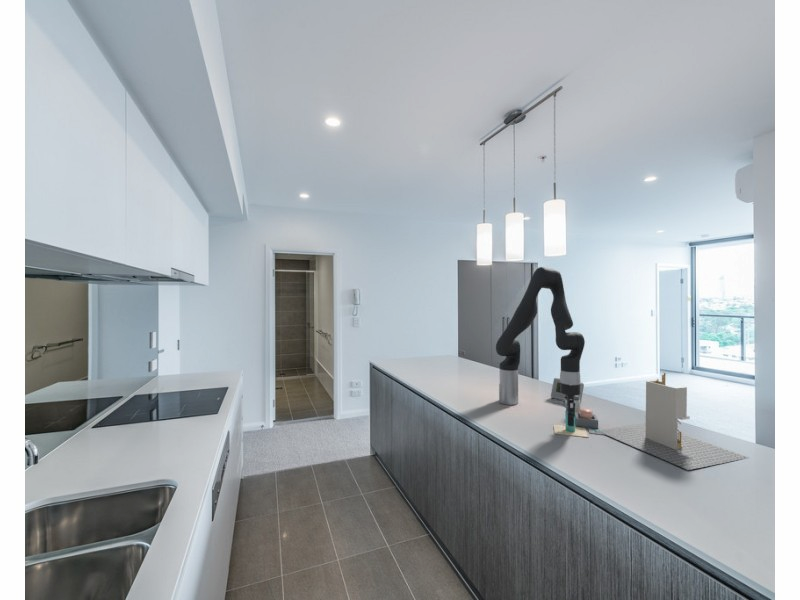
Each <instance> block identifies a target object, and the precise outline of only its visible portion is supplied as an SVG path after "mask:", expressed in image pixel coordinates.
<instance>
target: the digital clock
mask: <svg viewBox="0 0 800 600" xmlns="http://www.w3.org/2000/svg"><path fill="white" fill-rule="evenodd" d="M584 387H585V385H584V383H583V382H581V381H580V395H578V396H579V399H580V405H581V404H582V398H583V392H584ZM565 395H566V394H562V393H561V392H560V377H559V378H558V377H554V378H553V382H552V387H551V392H550V398H551V399H553V400H554V399H555V400H557V401H560V400H561V402H565V397H566V396H565Z"/></svg>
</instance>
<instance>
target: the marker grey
mask: <svg viewBox="0 0 800 600" xmlns="http://www.w3.org/2000/svg"><path fill="white" fill-rule="evenodd" d="M574 398H575V399H576V404H575V408H576V410H575V412H576V413H580V409H581V404H580V399H579V396H578V395H575V396H574Z"/></svg>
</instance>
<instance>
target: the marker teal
mask: <svg viewBox="0 0 800 600" xmlns="http://www.w3.org/2000/svg"><path fill="white" fill-rule="evenodd" d="M569 413H571V414H573V412H569ZM564 415H565V418H564V419H565V422H564V423H565V425H564V426H565V430H566V431H568V432H575V427H576V423H575V417H574V426H568V416H567V410H566V409H565V414H564Z"/></svg>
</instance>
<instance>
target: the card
mask: <svg viewBox="0 0 800 600" xmlns="http://www.w3.org/2000/svg"><path fill="white" fill-rule="evenodd" d="M596 430H600V429H599V428H598V429H595V428H587V431H588V433H589V434H592V435H601V436H607V435H606V434H603V433H601V432H599V431H596Z"/></svg>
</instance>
